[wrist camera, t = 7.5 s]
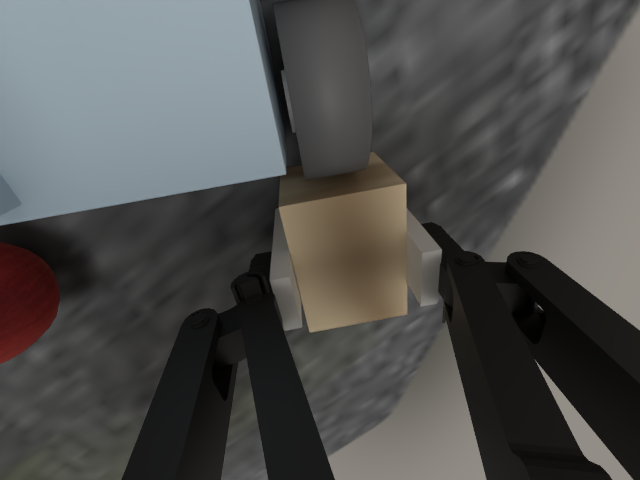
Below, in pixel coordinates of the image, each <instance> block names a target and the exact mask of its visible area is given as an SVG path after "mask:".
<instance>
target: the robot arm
mask: <svg viewBox="0 0 640 480" xmlns="http://www.w3.org/2000/svg"><path fill="white" fill-rule="evenodd" d="M406 214H407V283H408V285H409V286H410V288H411V290H412V292H413V294H414V295H415V297H416V299H417V301H418V303H419V304H420V306H426V305H432V304H437V303H438V300H439V293H440V295H441V296H442V298H443V299H444V307H443V320H442V323H445V320H446V321H447V325H448V329H449V333H450V337H451V341H452V344H453V349H454V353H455V357H456V360H457V365H458V369H459V373H460V377H461V380H462V384H463V388H464V392H465V396H466V400H467V404H468V408H469V411H470V415H471V420H472V424H473V427H474V432H475V436H476V439H477V443H478V447H479V451H480V455H481V459H482V463H483V467H484V471H485V475H486V479H487V480H612V479H611V477H610V476H609V474H608V473H607V472H606V471H605V470H604V469H603V468H602V467H601V466H600V465H597V464H595V463H592V462H590V461H588V459H587V458H586V457H585V456H584V455H583V453H582V451H581V450H580V448H579V446H578V444H577V442H576V440H575V438H574V436H573V434H572V432H571V430H570V428H569V426H568V424H567V422H566V420H565V418H564V416H563V414H562V412H561V410H560V409H559V406H558V405H557V403H556V401H555V399H554V397H553V395H552V393H551V391H550V389H549V387H548V385H547V383H546V381H545V379H544V377H543V375H542V373H541V371H540V369H539V367H538V365H537V363H536V361H537V362H538V364H539V365H540V366H541V367H542V369H543V370H544V371H545V372H546V373H547V375H548V376H549V377H550V378H551V379H552V381H553V382H554V383H555V384H556V386H557V387H558V388H559V389H560V391H561V392H562V393H563V394H564V395H565V397H566V398H567V399H568V400H569V402H570V403H571V404H572V405H573V406H574V408H575V409H576V410H577V411H578V412H579V414H580V415H581V416H582V417H583V419H584V420H585V421H586V422H587V423H588V425H589V426H590V427H591V428H592V430H593V431H594V432H595V433H596V434H597V436H598V437H599V438H600V439H601V441H602V442H603V443H604V444H605V445H606V447H607V448H608V449H609V450H610V451H611V453H612V454H613V455H614V456H615V458H616V459H617V460H618V461H619V462H620V464H621V465H622V466H623V467H624V469H625V470H626V471H627V472H628V474H629V475H630V476H631V477H632V478H633V479H634V480H640V330H638V329H637V328H635V327H634V326H633V325H632V324H630V323H629V322H628V321H627V320H625V319H624V318H623V317H621V316H620V315H619V314H617V313H616V312H615V311H613V310H612V309H611V308H610V307H608V306H607V305H606V304H604V303H603V302H602V301H600V300H599V299H598V298H597V297H595V296H594V295H593V294H591V293H590V292H589V291H587V290H586V289H585V288H583V287H582V286H581V285H580V284H578V283H577V282H576V281H574V280H573V279H572V278H570V277H569V276H568V275H567V274H565V273H564V272H563V271H561V270H560V269H559V268H557V267H556V266H555V265H554V264H552V263H551V262H550V261H548V260H547V259H545V258H544V257H542V256H540V255H538V254H535V253H532V252H524V251H522V252H514V253H511V254H510V255H509V256H508V257H507V262H506V263H505V262H504V263H503V262H502V263H501V262H485V261H484V259H483V258H482V257H481V256H480V255H478V254H476V253H473V252H469V251H464V250H463V249H462V248H461V247H460V246H459V245H458V244H457V243H456V242H455V241H454V240H453V239H452V238H450V236H449V235H448V234H447V233H446V231H445V230H444V229H443V228H442V227H441V226H439V225H437V224H434V223H432V222H430V223H425V224H420V223H419V222H418V220H417V219H416V218H415V217H414V216H413V214H412V213H411V212H410V211H409V210H408V209H407V207H406ZM231 290H232V292H233V295H234V297H235V300H236V302H237V305H236V306H235V307H233V308H231V309H229V310H227V311H225V312H222V313H220V314H217V312H216V311H215V310H214V309H210V308H206V309H201V310H198V311H196V312H194V313H192V314H190V315H189V316H188V317H187V318H186V319H185V320H184V322H183V324H182V326H181V328H180V331H179V333H178V336H177V339H176V341H175V344H174V346H173V349H172V351H171V354H170V357H169V359H168V362H167V364H166V367H165V369H164V372H163V375H162V377H161V380H160V382H159V385H158V387H157V390H156V393H155V395H154V398H153V400H152V403H151V405H150V408H149V411H148V413H147V416H146V418H145V421H144V423H143V426H142V429H141V431H140V434H139V436H138V439H137V441H136V444H135V447H134V449H133V452H132V454H131V457H130V459H129V462H128V465H127V467H126V470H125V472H124V475H123V477H122V480H221V474H222V468H223V461H224V454H225V447H226V441H227V434H228V427H229V420H230V414H231V407H232V400H233V393H234V387H235V380H236V373H237V367H238V362H239V361H241V360H243V359H245V358H247V362H248V367H249V373H250V379H251V384H252V390H253V396H254V401H255V407H256V412H257V418H258V424H259V429H260V435H261V441H262V446H263V452H264V457H265V463H266V469H267V474H268V480H335V479H334V476H333V473H332V470H331V467H330V464H329V462H328V458H327V455H326V453H325V450H324V447H323V444H322V441H321V438H320V435H319V432H318V429H317V426H316V424H315V421H314V418H313V415H312V412H311V409H310V406H309V403H308V400H307V397H306V395H305V392H304V389H303V386H302V383H301V380H300V377H299V374H298V371H297V368H296V366H295V363H294V360H293V357H292V354H291V351H290V348H289V345H288V342H287V339H286V337H285V334H284V331H283V328H282V324H283V327H284V330H285V331H287V330H292V329H298V328H302V312H301V296H300V292H299V288H298V284H297V280H296V276H295V272H294V268H293V264H292V260H291V256H290V252H289V248H288V244H287V240H286V236H285V232H284V227H283V223H282V219H281V215H280V211H279V208H277V209H275V221H274V233H273V245H272V252H266V253H261V254H256V255H255V257H254V258H253V259H252V260H251V264H250V269H249V272H246V273H244V274H242V275H240V276H238V277H237V278H236V279H234V281H233V282H232V284H231ZM538 305H539V306H540V307H541V308H542V309H543V310H541V309H540V308H539V307H538ZM535 360H536V361H535Z"/></svg>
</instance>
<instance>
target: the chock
mask: <svg viewBox="0 0 640 480" xmlns="http://www.w3.org/2000/svg"><path fill="white" fill-rule="evenodd" d="M278 207H279V211H280V215H281V219H282V223H283V227H284V232H285V236H286V240H287V244H288V248H289V252H290V256H291V260H292V264H293V268H294V272H295V276H296V280H297V284H298V288H299V292H300V296H301V300H302V304H303V308H304V312H305V316H306V320H307V324H308V328H309V332H310V333H311V332H316V331H322V330H327V329H332V328H338V327H343V326H348V325H354V324H359V323H364V322H370V321H375V320H380V319H386V318H391V317H396V316H402V315H407V214H406V183H405V182H404V181H403V180H402V179H401V178H400V177H399V176H398V175H397V174H396V173H395V172H394V171H393V170H392V169H391V168H390V167H389V166H388V165H387V164H386V163H385V162H384V161H383V160H382V159H381V158H380V157H379V156H378V155H376V154H375V153H374V152H371V153H370V158H369V162H368V166H367V167H366V169H365V170H361V171H356V172H350V173H345V174H339V175H334V176H328V177H322V178H317V179H311V180H306V181H305V178H304V172H303V167H302V165H298V166H293V167H287V168H286V175H280V187H279V206H278Z"/></svg>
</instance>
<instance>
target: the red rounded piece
mask: <svg viewBox="0 0 640 480" xmlns="http://www.w3.org/2000/svg"><path fill="white" fill-rule="evenodd" d="M59 300H60V289H59V286H58V283H57V280H56V278H55V275H54V273H53V271H52V269H51V268H50V267H49V266H48V264H47V263H46V262H45V261H44V259H42V258H41V257H39V256H37V255H36V254H34V253H33V252H31V251H29V250H26V249H23V248H20V247H17V246H14V245H11V244H6V243H2V242H0V364H1V363H3V362H6V361H8V360H10V359H11V358H13V357H15V356H17V355H18V354H20V353H22V352H23V351H24V350H26V349H27V348H28V347H29V346H31V345H32V344H33V343H34V342H36V341H37V340H38V339H39V338H40V337H41V336H42V335H43V334H44V333H45V331H46V330H47V329H48V328H49V327H50V326H51V324H52V322H53V320H54V319H55V317H56V315H57V310H58V305H59Z"/></svg>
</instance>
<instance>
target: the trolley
mask: <svg viewBox="0 0 640 480" xmlns="http://www.w3.org/2000/svg"><path fill="white" fill-rule="evenodd" d="M273 8H274V14H275V19H276V25H277V31H278V36H279V42H280V47H281V53H282V58H283V64H284V69H285V70H281V75H282V81H283V86H284V92H285V97H286V103H287V108H288V113H289V118H290V123H291V128H292V133H295V132H296V135H297V140H298V145H299V151H300V156H301V162H302V167H303V172H304V178H305V181H306V180H311V179H317V178H322V177H328V176H334V175H339V174H345V173H350V172H356V171H361V170H365V169H366V167H367V166H368V162H369V158H370V153H371V143H372V98H371V84H370V74H369V65H368V57H367V50H366V44H365V38H364V33H363V28H362V24H361V20H360V16H359V12H358V9H357V6H356V4H355V1H354V0H292V1H286V2H281V3H275V4H273ZM280 175H286V128H285V123H284V118H283V113H282V108H281V103H280V98H279V93H278V88H277V83H276V78H275V73H274V68H273V63H272V58H271V53H270V48H269V43H268V38H267V33H266V28H265V23H264V18H263V13H262V8H261V3H260V0H0V226H1V225H6V224H12V223H18V222H23V221H29V220H34V219H40V218H46V217H51V216H57V215H62V214H68V213H73V212H79V211H85V210H90V209H96V208H101V207H107V206H113V205H118V204H124V203H129V202H135V201H141V200H146V199H152V198H157V197H163V196H168V195H174V194H180V193H185V192H191V191H196V190H202V189H208V188H213V187H219V186H224V185H230V184H236V183H241V182H247V181H252V180H258V179H263V178H269V177H275V176H280Z"/></svg>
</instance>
